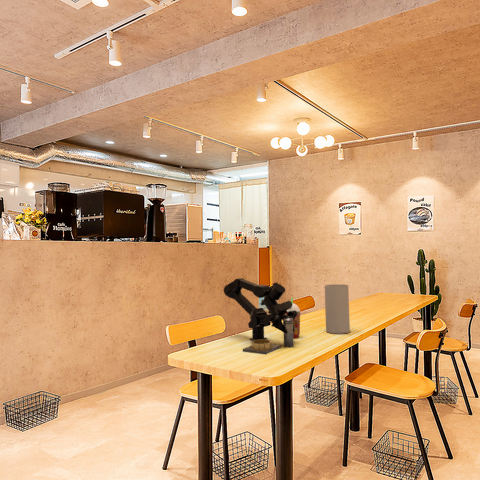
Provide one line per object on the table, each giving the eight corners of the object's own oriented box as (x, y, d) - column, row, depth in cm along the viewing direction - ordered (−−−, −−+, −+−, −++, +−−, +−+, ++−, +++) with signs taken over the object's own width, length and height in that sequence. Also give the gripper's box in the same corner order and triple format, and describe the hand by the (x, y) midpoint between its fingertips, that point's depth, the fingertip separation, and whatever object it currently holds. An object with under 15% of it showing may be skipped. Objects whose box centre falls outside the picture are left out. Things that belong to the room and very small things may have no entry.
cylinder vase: (325, 329, 227) (324, 284, 228) (348, 329, 225) (347, 284, 225) (326, 334, 215) (324, 286, 216) (350, 334, 213) (349, 286, 213)
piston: (286, 344, 194) (285, 317, 194) (295, 345, 191) (294, 317, 191) (281, 346, 190) (281, 318, 190) (291, 347, 187) (290, 319, 188)
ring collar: (258, 344, 195) (258, 337, 195) (280, 347, 188) (280, 339, 188) (242, 351, 183) (242, 343, 183) (265, 354, 176) (265, 346, 177)
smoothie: (283, 338, 208) (282, 298, 208) (287, 334, 216) (285, 297, 216) (299, 339, 205) (298, 299, 205) (302, 335, 213) (301, 297, 213)
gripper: (267, 297, 188) (285, 324, 179) (294, 293, 200) (312, 318, 191) (256, 312, 194) (273, 339, 185) (283, 308, 206) (300, 333, 197)
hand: (290, 332), depth 190 cm, fingers closed on piston, 4 cm apart
